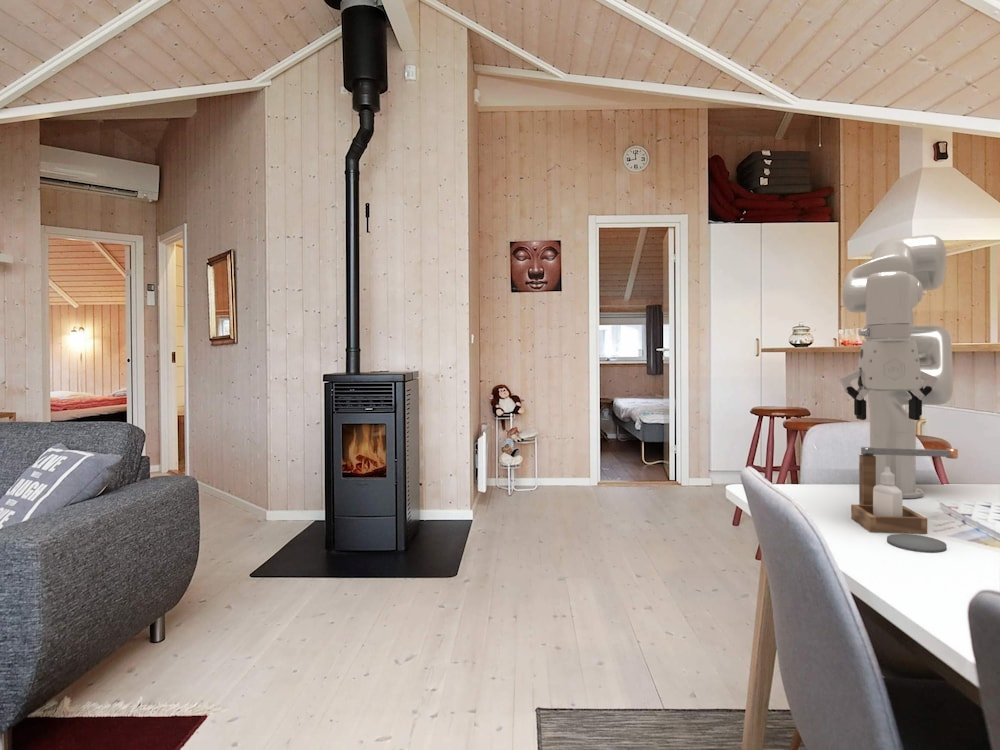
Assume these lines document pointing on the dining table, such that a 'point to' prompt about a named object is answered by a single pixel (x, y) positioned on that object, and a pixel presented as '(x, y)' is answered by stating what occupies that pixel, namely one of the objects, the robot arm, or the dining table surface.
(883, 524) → the wooden frame with post
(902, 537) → the mat
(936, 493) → the dining table surface
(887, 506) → the eye dropper bottle
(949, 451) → the ball-tipped grey rod
